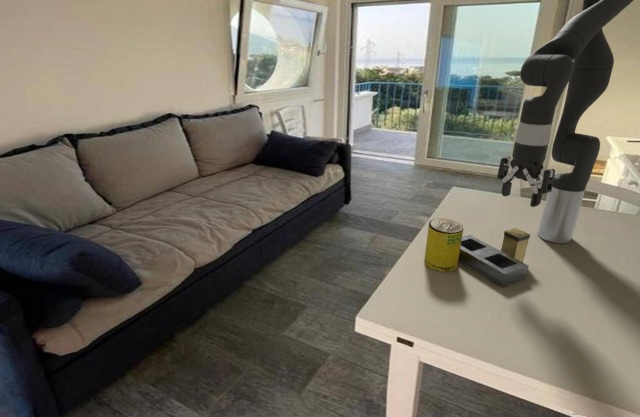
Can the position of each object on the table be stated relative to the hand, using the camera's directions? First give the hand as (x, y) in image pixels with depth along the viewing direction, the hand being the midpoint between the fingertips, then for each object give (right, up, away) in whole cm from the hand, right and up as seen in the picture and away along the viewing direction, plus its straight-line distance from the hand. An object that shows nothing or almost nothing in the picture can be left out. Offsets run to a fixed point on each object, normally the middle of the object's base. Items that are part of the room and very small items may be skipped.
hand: (519, 200), depth 101 cm
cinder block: (-7, -18, +5) cm, 20 cm away
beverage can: (-19, -18, +6) cm, 27 cm away
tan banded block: (+2, -17, +7) cm, 19 cm away
